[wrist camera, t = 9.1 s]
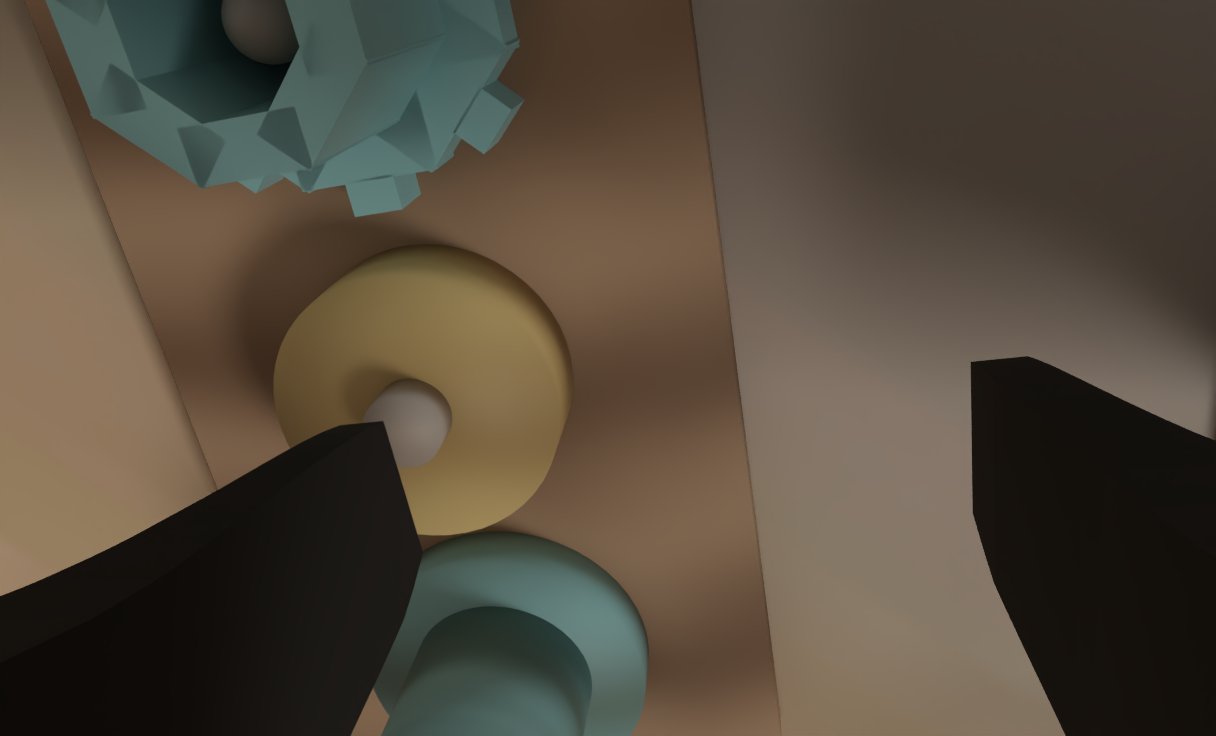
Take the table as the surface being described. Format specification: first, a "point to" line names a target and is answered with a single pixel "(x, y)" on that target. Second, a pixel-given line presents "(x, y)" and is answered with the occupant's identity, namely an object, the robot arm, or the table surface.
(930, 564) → the table surface
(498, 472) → the gear carrier
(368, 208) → the gear
